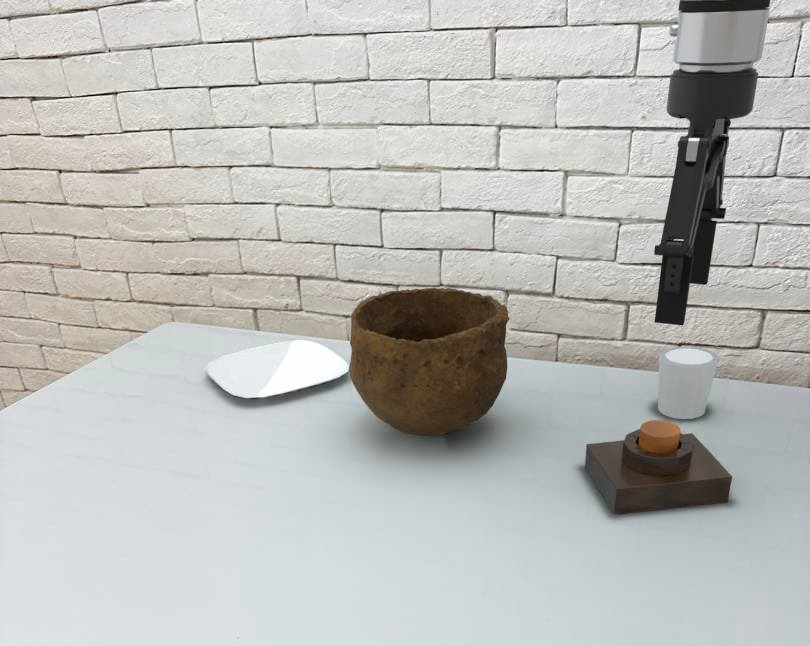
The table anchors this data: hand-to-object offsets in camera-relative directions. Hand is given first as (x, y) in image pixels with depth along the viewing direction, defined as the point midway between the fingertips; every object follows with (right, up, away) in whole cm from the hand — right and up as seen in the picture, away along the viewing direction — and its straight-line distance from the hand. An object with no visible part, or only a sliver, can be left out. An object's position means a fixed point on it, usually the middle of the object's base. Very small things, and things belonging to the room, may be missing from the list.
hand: (682, 302), depth 88 cm
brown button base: (-2, -19, +3) cm, 19 cm away
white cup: (+6, -8, +18) cm, 21 cm away
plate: (-47, -1, +34) cm, 57 cm away
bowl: (-25, -11, +18) cm, 33 cm away
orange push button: (-2, -15, +1) cm, 15 cm away
